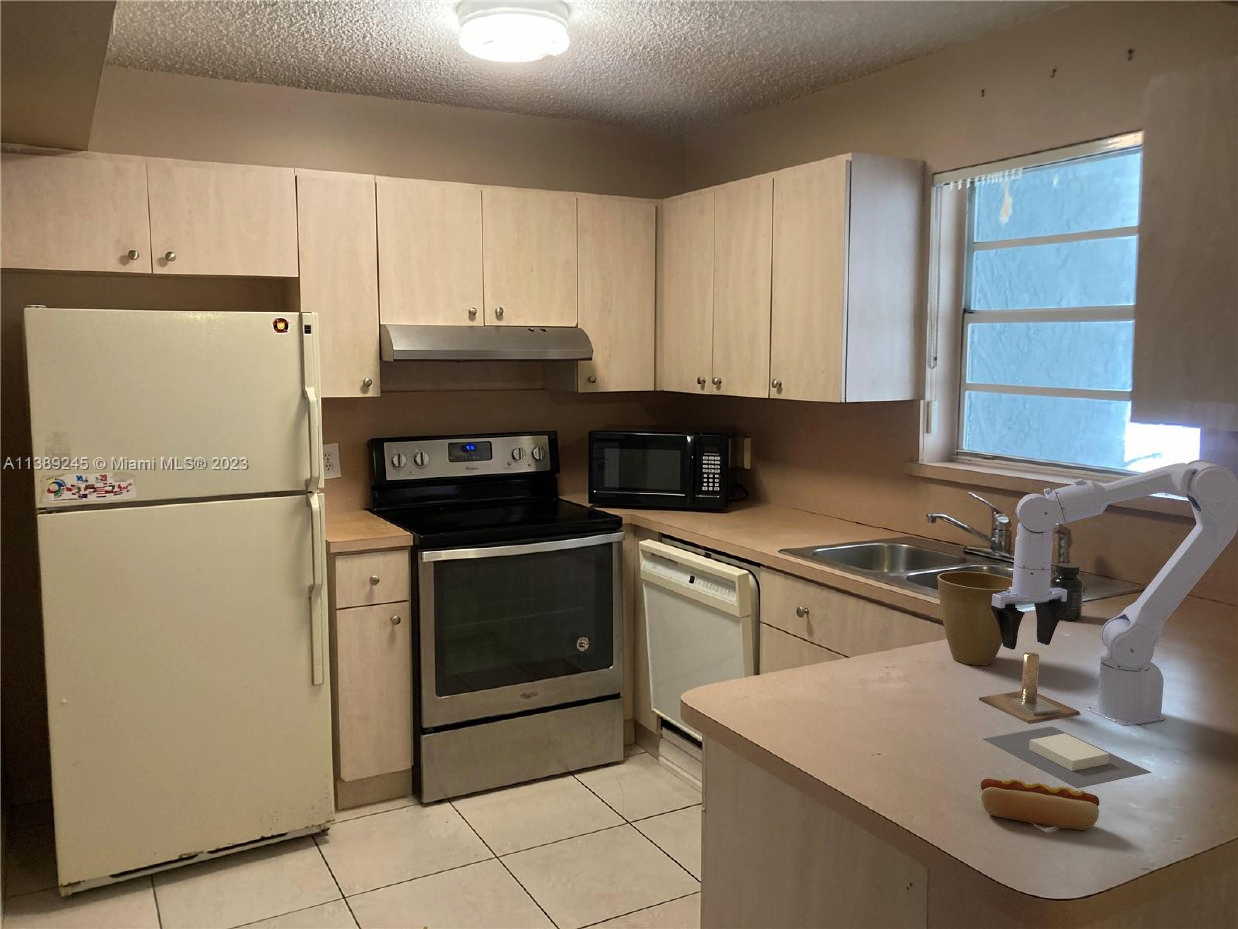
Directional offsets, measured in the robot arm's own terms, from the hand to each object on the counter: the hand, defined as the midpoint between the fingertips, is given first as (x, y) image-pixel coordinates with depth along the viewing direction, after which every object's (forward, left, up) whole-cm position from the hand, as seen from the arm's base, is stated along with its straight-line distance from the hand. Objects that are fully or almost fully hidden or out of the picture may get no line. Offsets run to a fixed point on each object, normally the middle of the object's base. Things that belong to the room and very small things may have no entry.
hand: (1026, 645), depth 163 cm
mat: (+10, +19, -10) cm, 24 cm away
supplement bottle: (-51, -39, -11) cm, 65 cm away
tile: (+10, +16, -9) cm, 21 cm away
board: (0, +2, -10) cm, 11 cm away
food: (+29, +32, -11) cm, 45 cm away
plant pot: (-10, -22, -11) cm, 27 cm away
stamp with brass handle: (+1, +3, -10) cm, 10 cm away
